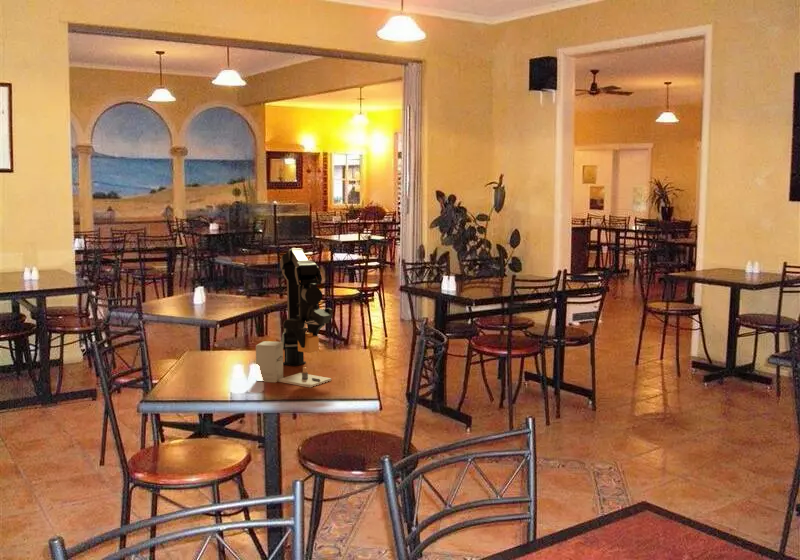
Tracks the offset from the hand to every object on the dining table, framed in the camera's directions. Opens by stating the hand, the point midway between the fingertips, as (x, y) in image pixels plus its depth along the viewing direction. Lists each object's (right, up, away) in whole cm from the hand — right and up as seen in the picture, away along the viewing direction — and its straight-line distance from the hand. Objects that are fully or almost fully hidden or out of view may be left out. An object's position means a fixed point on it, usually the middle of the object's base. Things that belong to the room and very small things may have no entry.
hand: (308, 346), depth 278 cm
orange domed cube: (0, -2, 0) cm, 2 cm away
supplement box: (-13, -12, +3) cm, 18 cm away
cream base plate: (-1, -12, 0) cm, 12 cm away
